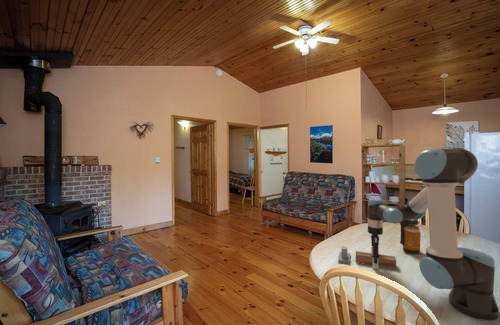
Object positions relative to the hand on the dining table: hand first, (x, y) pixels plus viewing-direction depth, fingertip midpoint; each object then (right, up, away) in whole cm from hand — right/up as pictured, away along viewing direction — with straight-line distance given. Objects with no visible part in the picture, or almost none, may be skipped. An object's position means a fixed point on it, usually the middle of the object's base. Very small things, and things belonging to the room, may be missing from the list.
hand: (374, 263), depth 138 cm
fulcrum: (-15, 0, +6) cm, 16 cm away
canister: (+29, +1, +15) cm, 33 cm away
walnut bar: (0, -1, 0) cm, 1 cm away
